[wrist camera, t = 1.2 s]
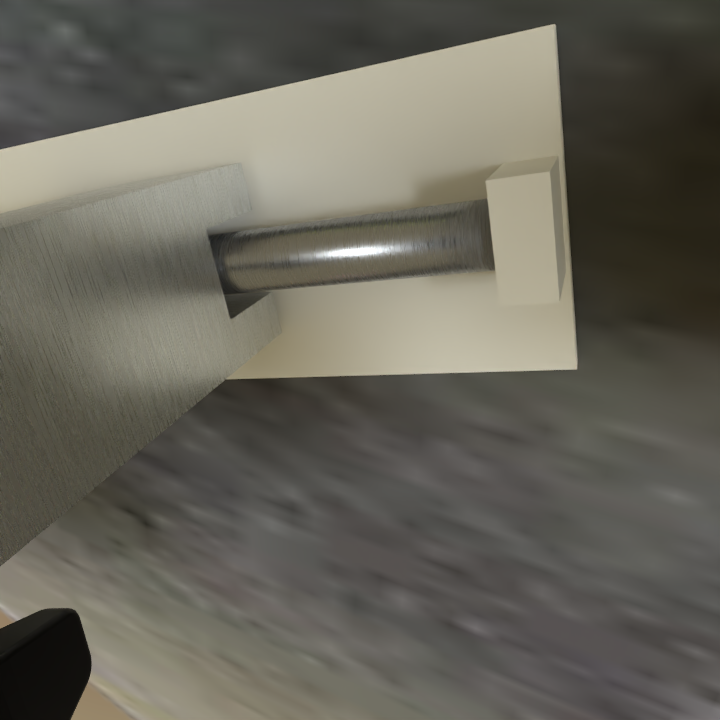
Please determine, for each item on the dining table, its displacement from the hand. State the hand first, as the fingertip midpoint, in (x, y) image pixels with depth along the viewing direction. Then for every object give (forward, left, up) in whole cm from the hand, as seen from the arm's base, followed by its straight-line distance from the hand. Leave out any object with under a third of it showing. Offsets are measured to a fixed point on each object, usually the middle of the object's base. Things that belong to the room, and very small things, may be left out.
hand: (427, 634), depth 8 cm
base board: (+7, -11, -13) cm, 18 cm away
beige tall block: (+5, -9, -13) cm, 17 cm away
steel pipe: (+7, -10, -11) cm, 17 cm away
